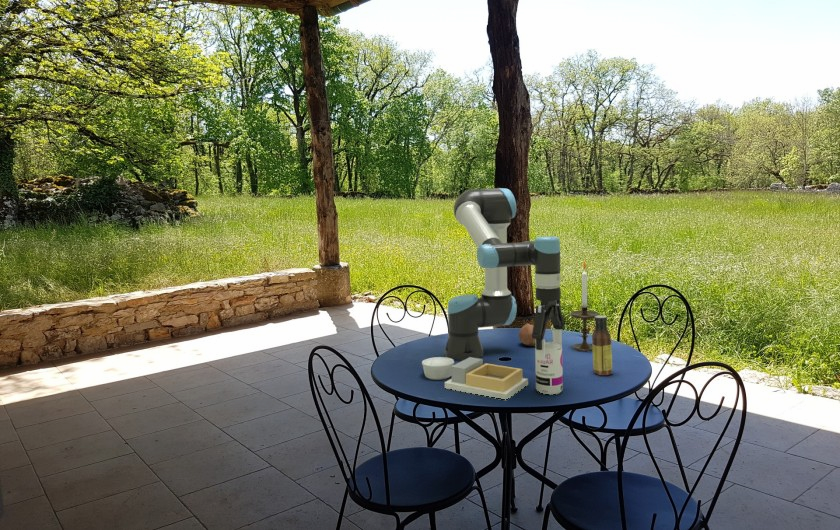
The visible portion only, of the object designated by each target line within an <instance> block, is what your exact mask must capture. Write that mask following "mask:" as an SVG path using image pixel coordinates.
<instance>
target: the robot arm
mask: <svg viewBox="0 0 840 530" xmlns="http://www.w3.org/2000/svg"><path fill="white" fill-rule="evenodd" d="M516 213H517V202H516V199H515V196H514V194H513V192H512V191H511V190H510V189H508V188H503V187H502V188H501V187H497V188H496V187H495V188H471V189H468V190H465V191H464V192H462V193H461V194H460V195H459V196H458V197H457V198H456V200H455V201H454V204H453V215H454V217H455V219H456V221H457V222H458V223H459V224H460V225H462V226H463V227H464V228H465V230H466V231H467V233H468V235H469V236H470V237H471V239H472V241H473V243H474V244H475V246H476V247H477V249H476V260H477V263H478V265H479V267H481V268H483V269H484V288H483V290H482V291H481V293H480V295H481V296H480V297H478V295H476V294H461V295H458V296H454V297H452V298H451V299H449V300H448V302H447V320H448V322H447V325H448V338H447V342H446V344H445V348H444V356H445V357H446V358H451V359H453V360H454V361H455V360H456V361H463V360H465V359H467V358H469V357H472V358H478V359H481V358H483V356H484V348H483V345H482V341H481V339H480V337H479V336H480V335H479V329H480V328H481V329H482V328H491V327H503V326H508V325H512V323H513V322H514V321H515V319H516V316H517V309H518V308H517V307H518V305H517V301H516V298H515V297H514V296H513V295H512V292H511V290H509V288H508V267H523V266H524V267H525V266H535V267H534V268H535V271H534V273H535V274H534V278H535V279H534V282H535V283H534V284H535V286H536V288H535V299H536V300H537V301H540V305H535V315H534V321H533V325H534V326H533V332H532V338H533V339H535V343H536V346H535V348H536V360H543V361H545V342H546V339H545V338H544V337H545V334H546V329H547V326H548V322H549V320H550V321H551V324H552V326H553V328H552V342H556V343H559V344H560V346H561V348H562V349H563V345H562V344H563V342H562V333H563V332H562V330H565V320H564V317H563V312H562V311H563V310H562V308H561V307H562V306H561V299H562V294H561V289H562V288H561V287H560V286H561V280H562V279H563V278H562V276H561V245H560V244H561V243H560V238H559V237H558V236H552V235H551V236H547V235H546V236H537V237H535V238H534V240H527V241H522V242H520V241H519V242H508V241H507V239H508V236H507V235H508V232H507V231H508V230H507V229H508V227H509V225H511V221H512V220H511V219H513V218H515V217H516Z"/></svg>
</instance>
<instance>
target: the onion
mask: <svg viewBox="0 0 840 530" xmlns="http://www.w3.org/2000/svg"><path fill="white" fill-rule="evenodd" d="M533 326H534V324H530V323H528V322H527V323H525V324H524V325H523V326H522V327H521V328H520V330H519V331H518V338H519V341H520V342H521V343H522V344H524V345H525V346H528V347H529V346H530V347H536V343H535V339H533V338H532V332H533Z"/></svg>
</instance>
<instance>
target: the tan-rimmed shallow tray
mask: <svg viewBox="0 0 840 530" xmlns="http://www.w3.org/2000/svg"><path fill="white" fill-rule="evenodd" d="M523 373H524V372H523V368H520V367H519V368H517V367H510V366H506V365H500V364H499V365H498V364H492V363H487V362H485V363H484V361H483V359H482V358H472V357H469V358H467V359H465V360H460V361H459V362H457V363H454V365H453V366H451V374H452V375H451V378H450V379H448V380H447V381H444V389H445V388H446V389H445V390H450V389H452V391H455V390H456V391H457V392H460V391H461V392H462V393H465V392H466V394H470V393H472V394H471V395H475V394H478V395H477V396H480V395H484V396H483V397H486V396H489V397H488V398H491V397H495V398H494V399H496V398H501V399H505V400H504V401H507V400H506V399H508V398H509V399H510V398H512V397H513V396H515V395H516V394H517V393H519V392H520V391H522V390H523V389H525V388H526V387H527V386H529V378H525V377H524V376H523V375H524V374H523ZM525 386H526V387H525ZM524 387H525V388H524ZM521 389H522V390H521ZM456 391H455V392H456ZM518 391H519V392H518ZM515 393H516V394H515ZM514 394H515V395H514ZM511 396H512V397H511ZM501 399H500V400H501ZM509 399H508V400H509Z"/></svg>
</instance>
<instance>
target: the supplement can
mask: <svg viewBox="0 0 840 530" xmlns="http://www.w3.org/2000/svg"><path fill="white" fill-rule="evenodd" d="M534 352H535V353H534V354H535V355H534V356H535V357H534V359H535V361H534V362H535V365H534V367H535V368H534V369H535V391H537V392H538V391H539V392H540V393H539V392H538V393H539V394H541V393H543V394H542V395H545V394H549V395H548V396H554V395H553V394H556V395H559V394H560V393H561V392H562V391H563V390H564V384H563V383H564V382H563V379H564V377H563V375H564V374H563V371H564V368H563V347H562V348H561V346H560V344H559V343H556V342H553V341H545V361H543V360H536V347H535V349H534Z"/></svg>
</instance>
